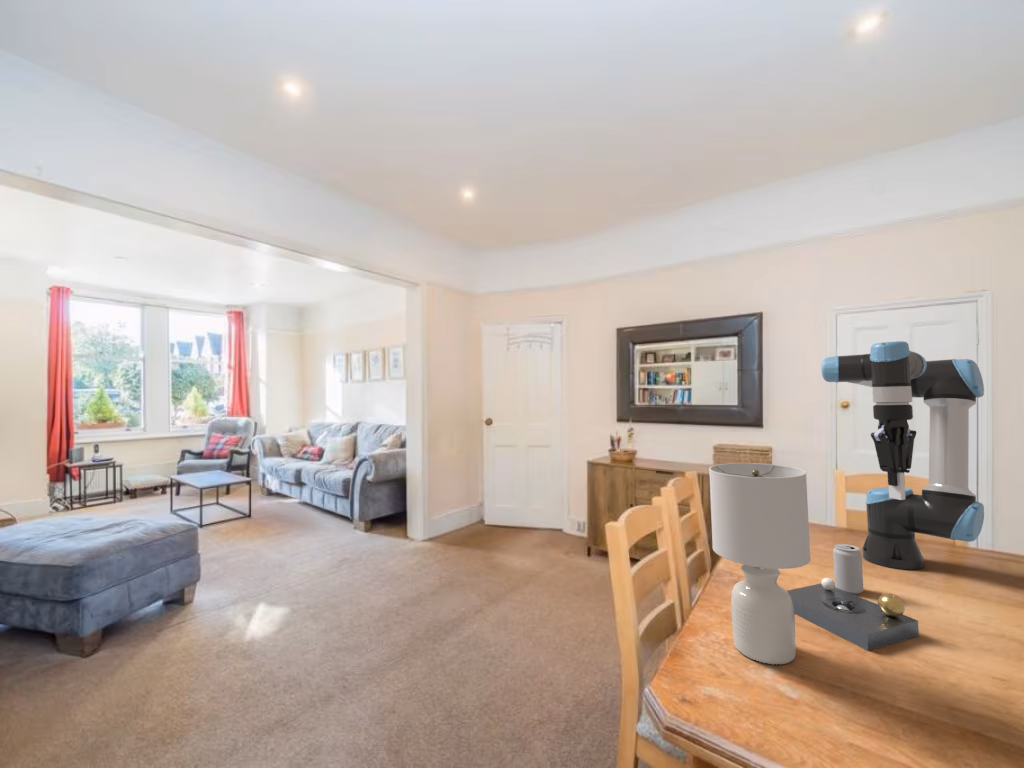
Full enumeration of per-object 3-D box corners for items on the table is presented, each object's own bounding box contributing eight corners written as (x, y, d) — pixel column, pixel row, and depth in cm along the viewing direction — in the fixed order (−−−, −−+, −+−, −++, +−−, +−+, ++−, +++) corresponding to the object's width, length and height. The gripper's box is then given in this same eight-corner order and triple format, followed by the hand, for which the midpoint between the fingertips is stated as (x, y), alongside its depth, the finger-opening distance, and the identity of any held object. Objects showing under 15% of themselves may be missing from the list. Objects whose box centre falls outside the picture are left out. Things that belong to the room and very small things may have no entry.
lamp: (703, 628, 108) (696, 464, 109) (783, 627, 108) (775, 462, 108) (740, 677, 89) (731, 479, 90) (837, 676, 89) (827, 476, 90)
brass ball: (887, 609, 107) (886, 589, 107) (910, 618, 103) (909, 597, 103) (873, 613, 106) (872, 592, 106) (895, 622, 101) (894, 601, 101)
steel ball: (828, 611, 111) (835, 620, 111) (842, 617, 107) (850, 626, 108) (835, 599, 111) (843, 608, 112) (849, 605, 108) (857, 615, 109)
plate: (824, 595, 123) (824, 582, 123) (918, 636, 102) (918, 620, 102) (779, 605, 118) (778, 592, 118) (868, 650, 97) (867, 634, 97)
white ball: (827, 586, 120) (826, 575, 120) (838, 591, 117) (837, 579, 118) (818, 588, 119) (818, 576, 119) (829, 592, 117) (829, 581, 117)
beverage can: (868, 596, 122) (866, 551, 122) (841, 594, 123) (839, 550, 123) (855, 586, 128) (853, 543, 128) (830, 584, 129) (828, 542, 129)
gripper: (893, 402, 118) (898, 493, 118) (857, 404, 114) (862, 498, 114) (927, 402, 111) (932, 499, 111) (890, 405, 107) (895, 504, 107)
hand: (897, 498), depth 112 cm, fingers closed
